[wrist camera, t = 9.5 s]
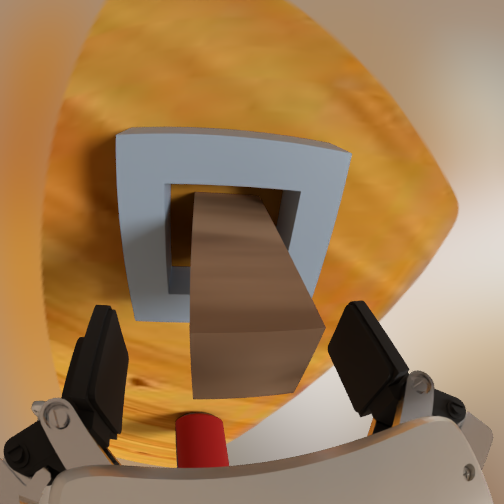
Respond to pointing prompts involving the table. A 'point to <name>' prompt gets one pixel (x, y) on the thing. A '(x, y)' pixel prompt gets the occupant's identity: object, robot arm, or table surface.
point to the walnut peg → (246, 303)
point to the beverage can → (200, 441)
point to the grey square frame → (218, 173)
